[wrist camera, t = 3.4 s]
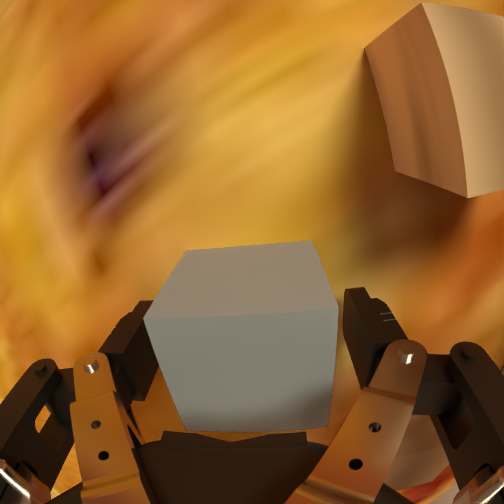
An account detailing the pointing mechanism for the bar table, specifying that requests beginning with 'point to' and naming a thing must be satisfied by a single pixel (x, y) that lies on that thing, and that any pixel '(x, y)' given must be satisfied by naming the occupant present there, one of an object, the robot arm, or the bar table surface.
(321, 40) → the bar table surface
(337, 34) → the bar table surface
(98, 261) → the bar table surface
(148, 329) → the slate blue cube
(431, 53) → the beech cube
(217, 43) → the bar table surface
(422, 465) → the walnut cube
